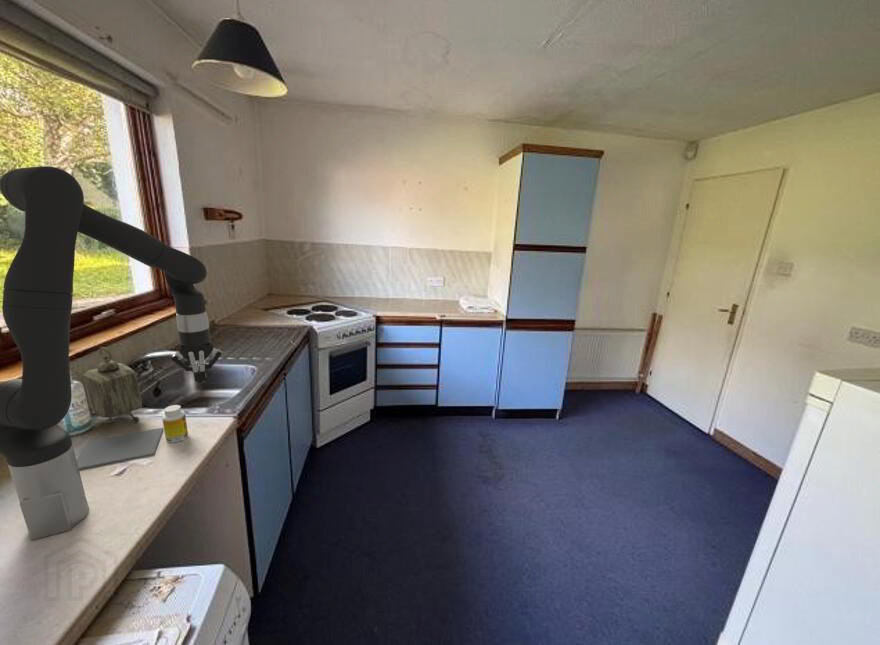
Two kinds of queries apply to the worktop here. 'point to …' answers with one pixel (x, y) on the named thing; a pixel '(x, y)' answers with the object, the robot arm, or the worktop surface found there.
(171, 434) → the supplement bottle
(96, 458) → the mat
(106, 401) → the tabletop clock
